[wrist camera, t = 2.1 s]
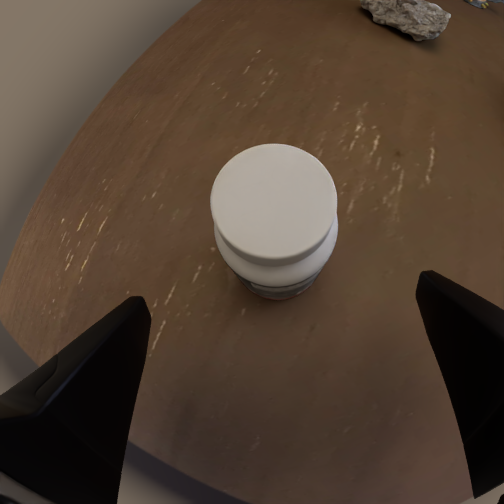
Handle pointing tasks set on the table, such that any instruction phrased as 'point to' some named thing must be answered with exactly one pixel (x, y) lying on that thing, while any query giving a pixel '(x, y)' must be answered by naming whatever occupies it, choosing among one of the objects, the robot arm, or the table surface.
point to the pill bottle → (275, 218)
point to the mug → (481, 2)
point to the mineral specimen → (409, 16)
